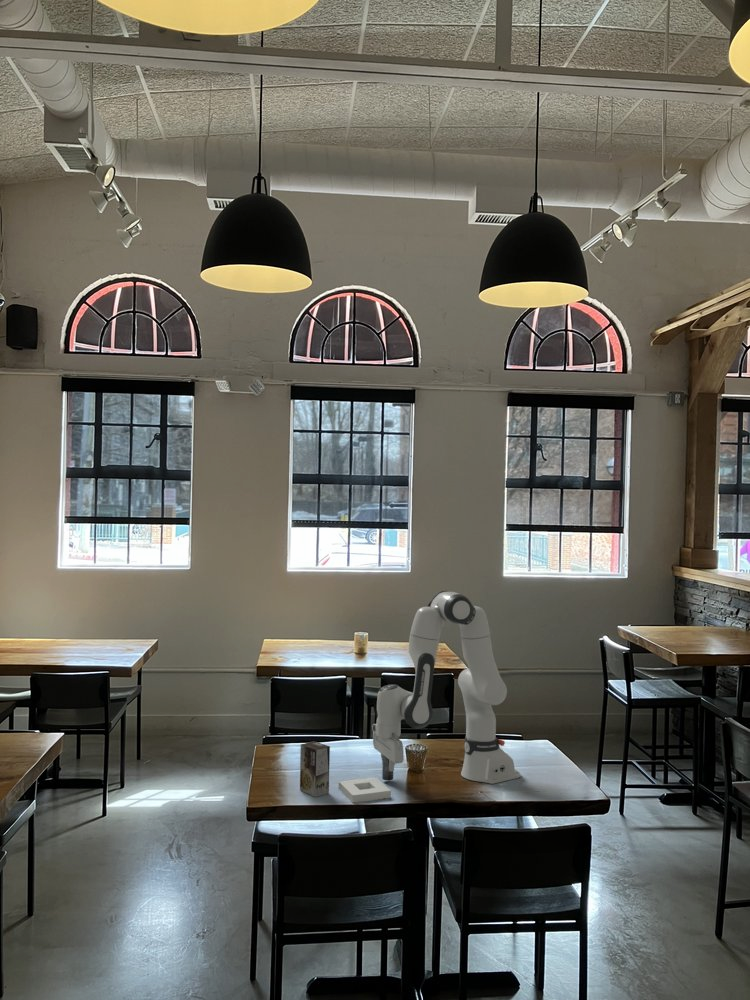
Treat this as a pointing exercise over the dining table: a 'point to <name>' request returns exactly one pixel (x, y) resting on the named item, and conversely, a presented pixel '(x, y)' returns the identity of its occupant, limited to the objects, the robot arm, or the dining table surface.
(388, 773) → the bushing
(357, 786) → the plate
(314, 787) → the coffee box
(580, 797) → the dining table surface
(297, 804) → the dining table surface
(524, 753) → the dining table surface
